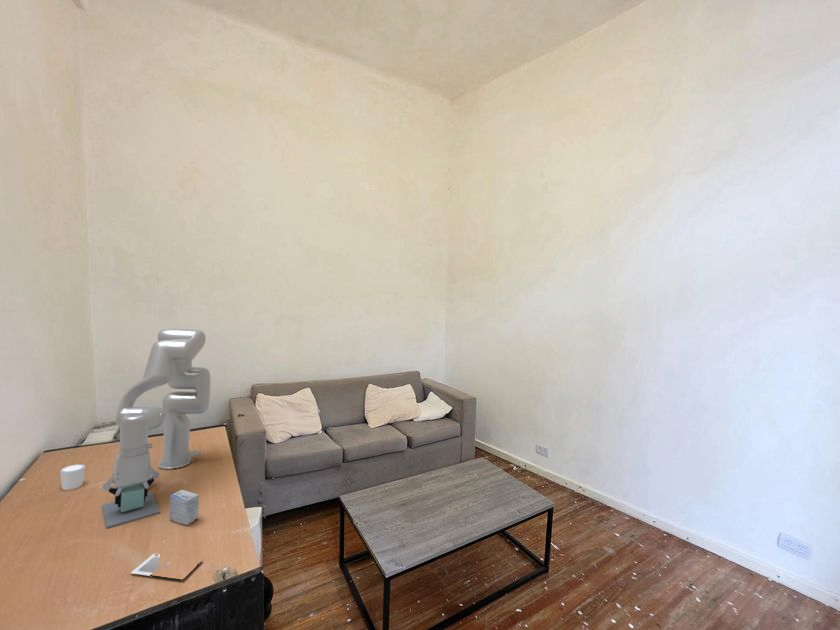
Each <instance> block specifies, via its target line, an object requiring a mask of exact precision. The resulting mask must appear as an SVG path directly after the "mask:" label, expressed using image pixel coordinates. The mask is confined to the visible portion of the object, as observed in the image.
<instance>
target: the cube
mask: <svg viewBox="0 0 840 630" xmlns="http://www.w3.org/2000/svg"><path fill="white" fill-rule="evenodd" d="M120 494H121V506H120V510H121V512H124V511H128V510H132V509H135V508H139V507H143V506H144V487H143V485H142V482H141V483H137V484H133V485H128V486H124V487H123V488H122V490H121V492H120Z"/></svg>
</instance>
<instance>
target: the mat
mask: <svg viewBox="0 0 840 630" xmlns="http://www.w3.org/2000/svg"><path fill="white" fill-rule="evenodd" d="M101 507H102V512H103V518H104V522H105V528H106V530H107V529H111V528H113V527H117V526H120V525H124V524H128V523H131V522H135V521H138V520H142V519H144V518H149V517H152V516H155V514H156V515H158V513H159V514H161V510H160V508H159V505H158V502H157V500H156V499H155V497H154V493H153V492H148V493H147V496H146V497H145V501H144V506H143V507H139V508H135V509H132V510H128V511H124V512H121V510H120V507H118V505H117V504H116V505H115V501H113V502H109V503H104V504H102V505H101Z"/></svg>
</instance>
